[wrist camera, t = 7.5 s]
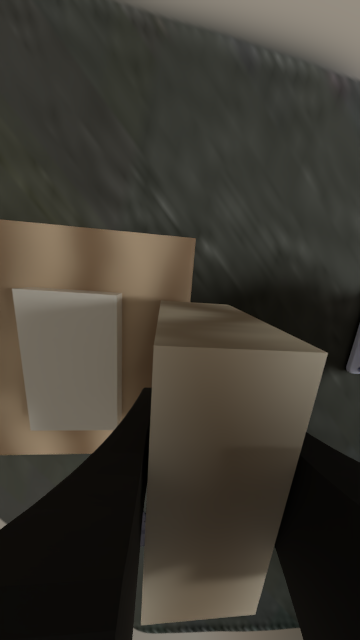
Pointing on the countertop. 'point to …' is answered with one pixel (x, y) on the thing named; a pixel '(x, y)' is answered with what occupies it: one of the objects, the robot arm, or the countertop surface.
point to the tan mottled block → (220, 457)
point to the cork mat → (90, 275)
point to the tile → (70, 357)
